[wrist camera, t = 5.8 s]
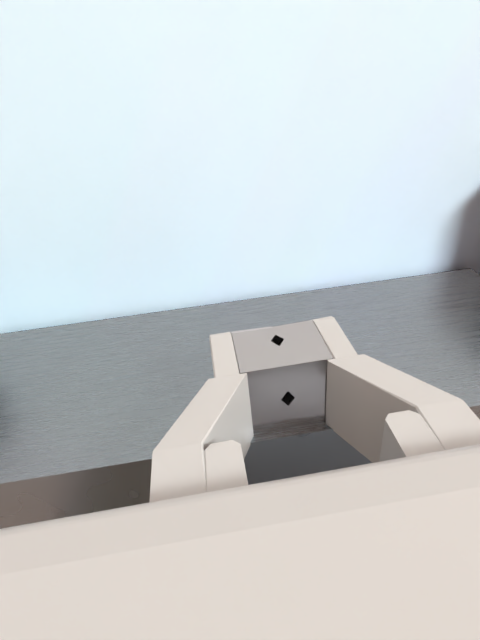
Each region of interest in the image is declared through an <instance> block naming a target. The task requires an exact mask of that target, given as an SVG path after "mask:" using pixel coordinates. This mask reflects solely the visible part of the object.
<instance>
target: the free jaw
mask: <svg viewBox="0 0 480 640" xmlns="http://www.w3.org/2000/svg"><path fill="white" fill-rule="evenodd" d="M329 316H332V317H334V318H335V319H336V321H337V323H338V324H339V326H340V327H341V329H342V330H343V332H344V334H345V335H346V337H347V338H348V340H349V341H350V343H351V345H352V346H353V348H354V349H355V351H356V352H357V354H358V355H362V354H365V355H367V356H369V357H371V358H374V359H376V360H378V361H380V362H382V363H384V364H387V365H389V366H391V367H393V368H395V369H397V370H400V371H402V372H404V373H406V374H408V375H410V376H412V377H415V378H417V379H419V380H421V381H423V382H425V383H428V384H430V385H432V386H434V387H436V388H438V389H441V390H443V391H445V392H447V393H449V394H451V395H454V396H456V397H458V398H460V399H462V400H463V401H464V402H465V403H466V404H467V405H468V406H469V408H470V409H471V410H472V411H473V412H474V414H475V415H476V416H477V417H478V418H479V419H480V275H479V274H478V273H476V272H475V271H473V270H472V269H471V268H468V269H461V270H454V271H447V272H440V273H433V274H426V275H418V276H411V277H404V278H397V279H390V280H383V281H375V282H368V283H361V284H354V285H347V286H340V287H333V288H325V289H318V290H311V291H304V292H297V293H290V294H282V295H275V296H268V297H261V298H254V299H247V300H240V301H232V302H225V303H218V304H211V305H204V306H197V307H189V308H182V309H175V310H168V311H161V312H154V313H147V314H139V315H132V316H125V317H118V318H111V319H104V320H97V321H89V322H82V323H75V324H68V325H61V326H54V327H46V328H39V329H32V330H25V331H18V332H11V333H4V334H0V529H2V528H7V527H13V526H19V525H24V524H30V523H36V522H41V521H47V520H53V519H58V518H64V517H70V516H75V515H81V514H87V513H92V512H98V511H104V510H109V509H115V508H121V507H126V506H132V505H137V504H143V503H149V500H150V484H151V469H152V453H153V450H154V449H155V448H156V446H157V445H158V444H159V442H160V441H161V440H162V439H163V437H164V436H165V435H166V433H167V432H168V431H169V429H170V428H171V427H172V425H173V424H174V423H175V422H176V420H177V419H178V418H179V416H180V415H181V414H182V412H183V411H184V410H185V408H186V407H187V406H188V405H189V403H190V402H191V401H192V399H193V398H194V397H195V395H196V394H197V393H198V391H199V390H200V389H201V388H202V386H203V385H204V384H205V382H206V381H207V380H208V379H211V378H214V372H213V364H212V356H211V348H210V340H209V336H210V335H212V334H218V333H225V332H230V333H231V332H232V331H240V330H247V329H255V328H262V327H270V326H272V327H274V326H280V325H285V324H291V323H297V322H303V321H309V320H312V319H318V318H323V317H329ZM250 444H251V445H250V447H249V449H248V452H247V454H246V456H245V458H244V464H245V469H246V475H247V480H248V485H251V484H256V483H262V482H268V481H273V480H279V479H284V478H290V477H296V476H301V475H307V474H313V473H318V472H324V471H330V470H335V469H341V468H346V467H352V466H358V465H363V464H369V463H372V462H371V461H370V460H369V459H367V458H366V457H365V456H364V455H362V454H361V453H360V452H359V451H357V450H356V449H355V448H354V447H353V446H351V445H350V444H349V443H348V442H346V441H345V440H344V439H343V438H342V437H340V436H339V435H338V434H337V433H335V432H334V431H333V429H332V428H331V427H330V426H328V425H327V424H326V423H325V422H322V423H316V424H309V425H302V426H295V427H289V428H283V429H277V430H272V431H266V432H261V433H255V434H254V436H253V438H252V440H251V443H250Z"/></svg>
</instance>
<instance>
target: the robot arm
mask: <svg viewBox="0 0 480 640" xmlns="http://www.w3.org/2000/svg"><path fill="white" fill-rule="evenodd" d="M209 340H210V348H211V356H212V364H213V372H214V378H211V379H208V380H207V381H206V382H205V384H204V385H203V386H202V388H201V389H200V390H199V391H198V393H197V394H196V395H195V397H194V398H193V399H192V401H191V402H190V403H189V405H188V406H187V407H186V408H185V410H184V411H183V412H182V414H181V415H180V416H179V418H178V419H177V420H176V422H175V423H174V424H173V425H172V427H171V428H170V429H169V431H168V432H167V433H166V435H165V436H164V437H163V439H162V440H161V441H160V442H159V444H158V445H157V446H156V448H155V449H154V450H153V453H152V469H151V484H150V500H149V503H143V504H137V505H132V506H126V507H121V508H115V509H109V510H104V511H98V512H92V513H87V514H81V515H75V516H70V517H64V518H58V519H53V520H47V521H41V522H36V523H30V524H24V525H19V526H13V527H7V528H2V529H0V640H480V419H479V418H478V417H477V416H476V415H475V414H474V412H473V411H472V410H471V409H470V408H469V406H468V405H467V404H466V403H465V402H464V401H463V400H462V399H460V398H458V397H456V396H454V395H451V394H449V393H447V392H445V391H443V390H441V389H438V388H436V387H434V386H432V385H430V384H428V383H425V382H423V381H421V380H419V379H417V378H415V377H412V376H410V375H408V374H406V373H404V372H402V371H400V370H397V369H395V368H393V367H391V366H389V365H387V364H384V363H382V362H380V361H378V360H376V359H374V358H371V357H369V356H367V355H365V354H362V355H358V354H357V352H356V351H355V349H354V348H353V346H352V345H351V343H350V341H349V340H348V338H347V337H346V335H345V334H344V332H343V330H342V329H341V327H340V326H339V324H338V323H337V321H336V319H335V318H334V317H332V316H329V317H323V318H318V319H312V320H309V321H303V322H297V323H291V324H285V325H280V326H274V327H272V326H270V327H262V328H255V329H247V330H240V331H232V332H231V333H230V332H225V333H218V334H212V335H210V336H209ZM322 422H325V423H326V424H327V425H328V426H330V427H331V428H332V429H333V431H334V432H335V433H337V434H338V435H339V436H340V437H342V438H343V439H344V440H345V441H346V442H348V443H349V444H350V445H351V446H353V447H354V448H355V449H356V450H357V451H359V452H360V453H361V454H362V455H364V456H365V457H366V458H367V459H369V460H370V461H371V462H372V463H369V464H363V465H358V466H352V467H346V468H341V469H335V470H330V471H324V472H318V473H313V474H307V475H301V476H296V477H290V478H284V479H279V480H273V481H268V482H262V483H256V484H251V485H248V480H247V475H246V469H245V464H244V458H245V456H246V454H247V452H248V449H249V447H250V445H251V444H250V443H251V440H252V438H253V436H254V434H255V433H261V432H266V431H272V430H277V429H283V428H289V427H295V426H302V425H309V424H316V423H322Z"/></svg>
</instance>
